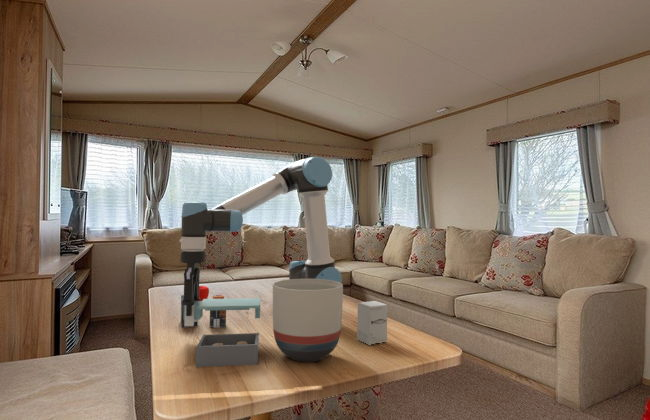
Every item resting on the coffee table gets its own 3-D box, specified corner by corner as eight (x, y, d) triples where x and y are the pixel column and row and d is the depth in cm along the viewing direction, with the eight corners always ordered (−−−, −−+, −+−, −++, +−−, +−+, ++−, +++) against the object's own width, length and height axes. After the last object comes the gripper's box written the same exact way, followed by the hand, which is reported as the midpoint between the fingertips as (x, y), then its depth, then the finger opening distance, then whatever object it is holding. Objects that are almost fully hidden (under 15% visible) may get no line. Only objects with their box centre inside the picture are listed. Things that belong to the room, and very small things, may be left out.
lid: (260, 312, 129) (260, 298, 129) (259, 320, 118) (259, 305, 118) (188, 313, 126) (189, 299, 126) (180, 323, 114) (181, 307, 114)
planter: (283, 376, 96) (285, 292, 96) (263, 351, 114) (264, 280, 115) (354, 365, 104) (355, 287, 105) (325, 343, 123) (325, 277, 123)
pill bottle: (221, 328, 138) (222, 297, 138) (206, 327, 139) (207, 296, 140) (228, 324, 144) (229, 294, 144) (214, 323, 145) (215, 293, 145)
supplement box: (368, 346, 120) (369, 306, 121) (356, 339, 127) (356, 301, 127) (387, 343, 124) (388, 304, 124) (374, 336, 130) (375, 300, 131)
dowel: (247, 355, 108) (247, 341, 108) (246, 359, 105) (246, 344, 106) (237, 356, 108) (237, 341, 108) (236, 359, 105) (236, 344, 105)
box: (180, 322, 145) (181, 295, 146) (195, 321, 148) (196, 294, 148) (181, 328, 138) (182, 299, 138) (197, 326, 140) (198, 297, 141)
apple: (195, 300, 185) (195, 284, 185) (212, 301, 184) (212, 285, 184) (185, 304, 176) (186, 287, 176) (203, 305, 175) (204, 288, 175)
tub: (258, 353, 113) (258, 333, 113) (257, 367, 102) (257, 344, 102) (203, 355, 110) (203, 334, 111) (195, 370, 99) (196, 347, 100)
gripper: (186, 248, 129) (184, 316, 128) (174, 252, 112) (171, 331, 111) (209, 248, 130) (207, 316, 129) (200, 252, 113) (197, 331, 112)
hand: (190, 323), depth 120 cm, fingers closed on lid, 4 cm apart
